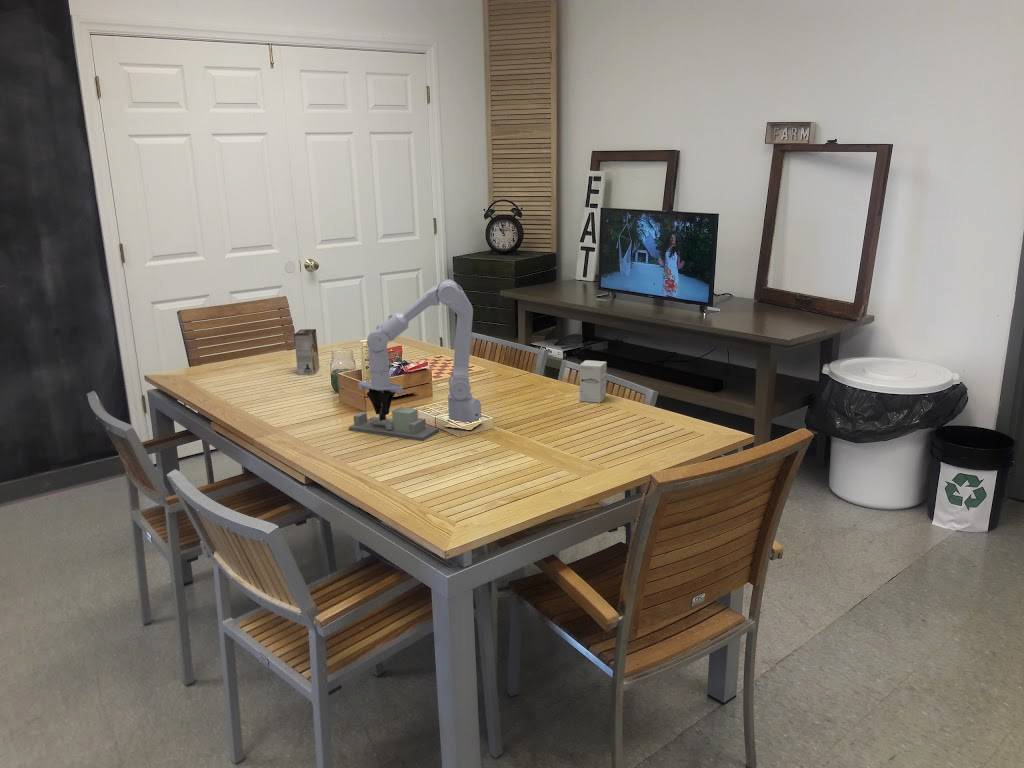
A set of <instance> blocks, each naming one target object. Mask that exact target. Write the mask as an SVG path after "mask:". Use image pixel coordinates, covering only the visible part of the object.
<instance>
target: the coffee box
mask: <svg viewBox="0 0 1024 768" xmlns="http://www.w3.org/2000/svg"><path fill="white" fill-rule="evenodd" d="M293 337H294V338H293V339H294V348H295V358H296V368H297V369H296V370H297V375H298V376H307V375H306V374H314V375H315V374H316V373H317V372H318V371H319V370H320V369H319V368H320V360H319V359H320V358H319V347H318V337H317V329H316V328H314V329H313V328H311V329H309V328H308V329H306V328H305V329H299V330H297V332H296V333H294V334H293ZM318 369H319V370H318Z"/></svg>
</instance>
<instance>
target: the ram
mask: <svg viewBox="0 0 1024 768" xmlns="http://www.w3.org/2000/svg"><path fill="white" fill-rule="evenodd" d="M369 419H370V424H376V425H383V426H386V430H393V418H388V417H387V415H383V410H382V406H380V407H379V414H378V416H371V417H370V418H369Z"/></svg>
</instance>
